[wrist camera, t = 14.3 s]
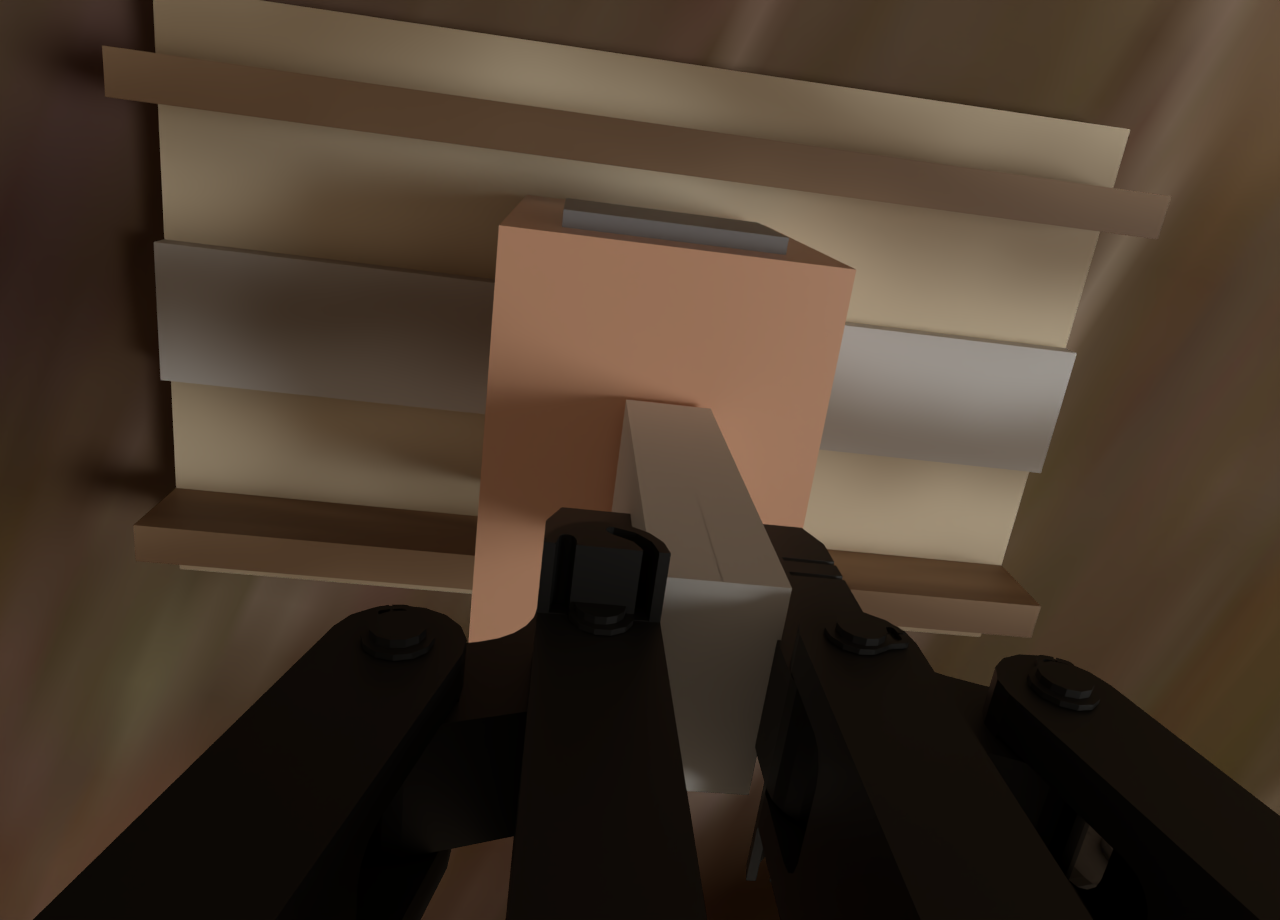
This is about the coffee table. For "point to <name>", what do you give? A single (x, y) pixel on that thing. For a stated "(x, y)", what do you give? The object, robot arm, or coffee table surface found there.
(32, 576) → the coffee table surface
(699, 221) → the block
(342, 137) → the rail mount
